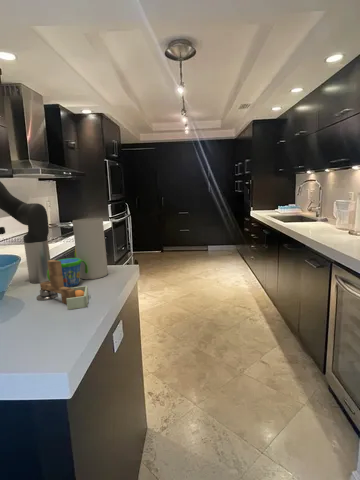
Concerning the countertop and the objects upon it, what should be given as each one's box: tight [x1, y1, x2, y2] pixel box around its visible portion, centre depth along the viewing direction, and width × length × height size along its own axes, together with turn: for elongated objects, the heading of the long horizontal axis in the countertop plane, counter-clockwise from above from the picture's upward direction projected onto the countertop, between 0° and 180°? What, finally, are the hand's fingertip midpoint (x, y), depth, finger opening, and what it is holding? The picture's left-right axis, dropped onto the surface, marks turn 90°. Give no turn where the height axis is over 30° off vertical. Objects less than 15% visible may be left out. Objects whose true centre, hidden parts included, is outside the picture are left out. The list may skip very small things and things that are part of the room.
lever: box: [39, 259, 76, 305], centre depth 101 cm, size 18×4×14 cm, turn 54°
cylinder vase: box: [72, 217, 109, 280], centre depth 129 cm, size 12×12×25 cm
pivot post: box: [36, 289, 59, 302], centre depth 106 cm, size 7×7×3 cm
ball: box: [75, 290, 84, 297], centre depth 99 cm, size 4×4×4 cm
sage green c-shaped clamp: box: [66, 285, 90, 311], centre depth 99 cm, size 12×6×4 cm, turn 15°
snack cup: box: [47, 257, 88, 288], centre depth 118 cm, size 16×10×10 cm
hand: (4, 230), depth 93 cm, fingers closed
